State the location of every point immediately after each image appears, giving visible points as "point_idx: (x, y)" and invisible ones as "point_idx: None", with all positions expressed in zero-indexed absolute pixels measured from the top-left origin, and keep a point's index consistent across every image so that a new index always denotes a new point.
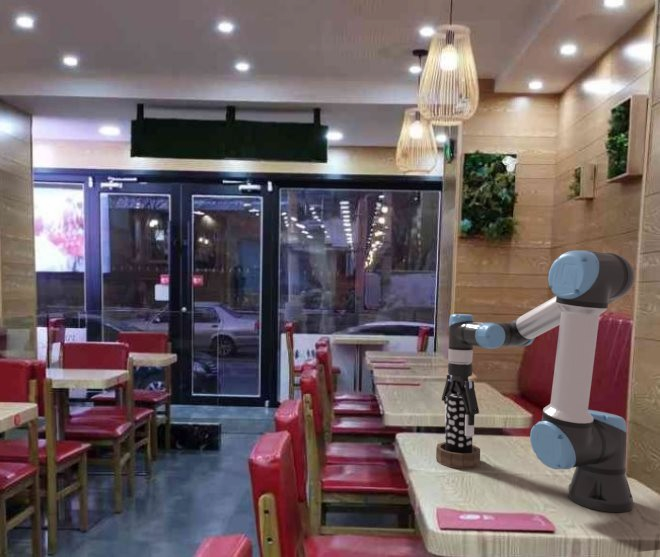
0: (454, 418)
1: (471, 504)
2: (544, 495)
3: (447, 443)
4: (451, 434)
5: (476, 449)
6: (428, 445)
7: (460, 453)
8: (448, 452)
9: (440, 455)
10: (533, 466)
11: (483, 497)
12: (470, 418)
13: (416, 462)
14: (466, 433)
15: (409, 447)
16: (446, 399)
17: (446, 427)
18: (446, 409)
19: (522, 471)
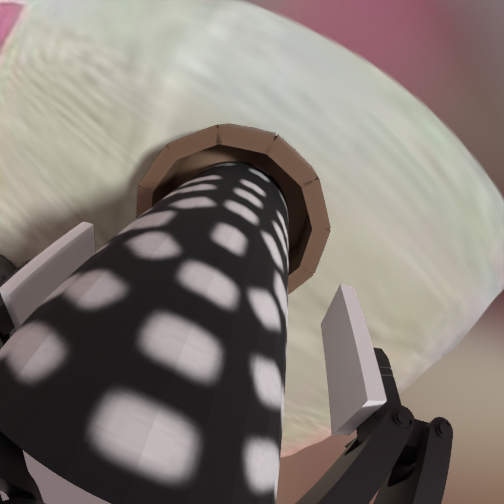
0: (100, 249)
1: (6, 71)
2: (16, 236)
3: (224, 175)
4: (175, 192)
5: None
6: (432, 243)
7: (153, 183)
8: (180, 139)
9: (231, 125)
10: None
11: (15, 109)
12: (4, 283)
13: (292, 50)
14: (74, 229)
15: (451, 163)
16: (378, 449)
17: (223, 205)
18: (197, 298)
19: None
